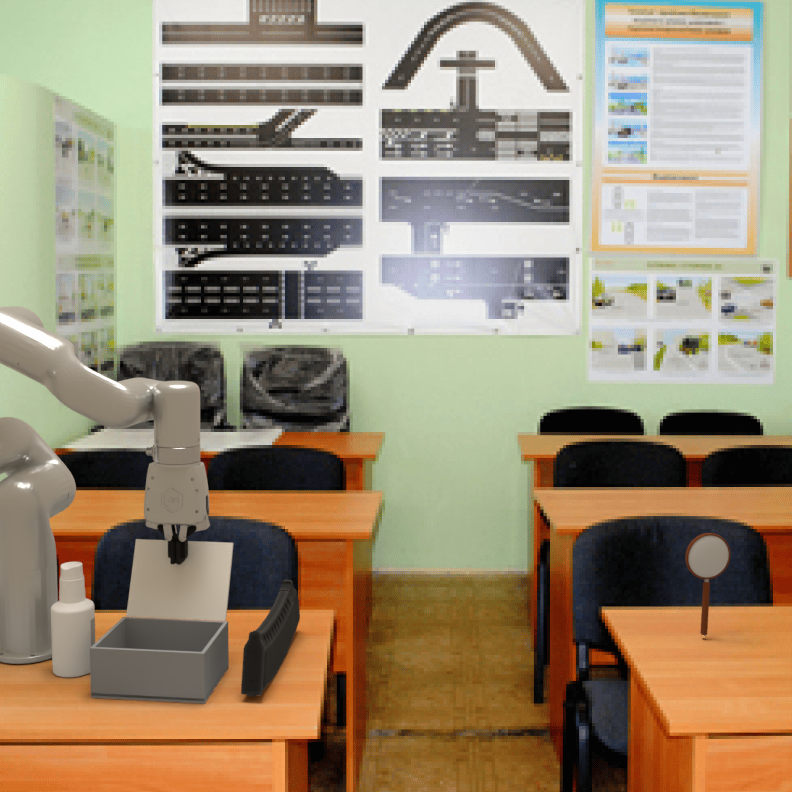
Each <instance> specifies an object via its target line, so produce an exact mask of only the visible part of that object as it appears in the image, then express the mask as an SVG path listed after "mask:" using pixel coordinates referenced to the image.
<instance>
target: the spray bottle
mask: <svg viewBox="0 0 792 792" xmlns="http://www.w3.org/2000/svg"><path fill="white" fill-rule="evenodd" d="M83 565H84V564H83V563H82V562H81V561H68V562H63V563H61V564H60V576H59V580H58V581H59V591H58V594H59V595H58V599H59V600H58V601H57V602H56V603H54V604H53V605H52V607H51V635H52V658H51V662H52V663H51V664H52V672H53V674H54V675H55V676H56V677H60V678H77V677H83V676H85V675H88V674H90V647H92V646H93V645H94V644H95V643H96V616H95V615H96V614H95V612H96V611H95V608H96V607H95V603H94V601H93V600H91V599H89V598H87V597H86V588H85V575H84V573H83V572H84V569H83Z"/></svg>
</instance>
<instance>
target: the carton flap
mask: <svg viewBox="0 0 792 792" xmlns="http://www.w3.org/2000/svg"><path fill="white" fill-rule="evenodd" d="M134 544H135V545H134V553H133V558H132V559H133V561H132V567H131V575H130V576H131V577H130V584H129V592H128V600H127V607H126V615H125V617H140V618H162V619H185V620H208V621H227V617H228V615H227V614H228V605H229V595H230V593H229V592H230V585H231V583H230V582H231V575H232V574H231V572H232V565H233V564H232V563H233V554H234V552H233V551H234V542H223V541H222V542H221V541H200V540H199V541H195V540H188V557H187V558H186V559H185V561H184V562H183V563H182V564H180V565H177V564H176V563H175V564H171V563H170V558H168V541H167V540H166V539H141V538H136V539H135V543H134Z"/></svg>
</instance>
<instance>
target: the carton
mask: <svg viewBox="0 0 792 792" xmlns="http://www.w3.org/2000/svg"><path fill="white" fill-rule="evenodd" d="M229 663H230V662H229V621H227V620H226V621H217V620H194V619H172V618H149V617H127V616H123V617H121V618H119V620H118V621H117V622H116V623H114V625H113V626H111V628H110V629H109V630H108V631H106V633H104V634H103V635H102V636H101V637H100V638H99V639H98V640H97V641H95V644H94V645H93V646H92V647H90V673H89V674H90V675H89V676H90V678H89V679H90V699H104V700H105V699H106V700H107V699H108V700H122V701H123V700H126V701H144V702H145V701H147V702H164V703H184V704H185V703H186V704H202V705H203V704H206V703H207V701H208V699H209V698H210V697H211V695H212V693H213V692H214V691H215V689H216V687H217V686H218V685H219V683H220V681H221V680H222V679H223V677H224V675H225V673H226V672H227V671H228V670H229Z"/></svg>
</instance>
